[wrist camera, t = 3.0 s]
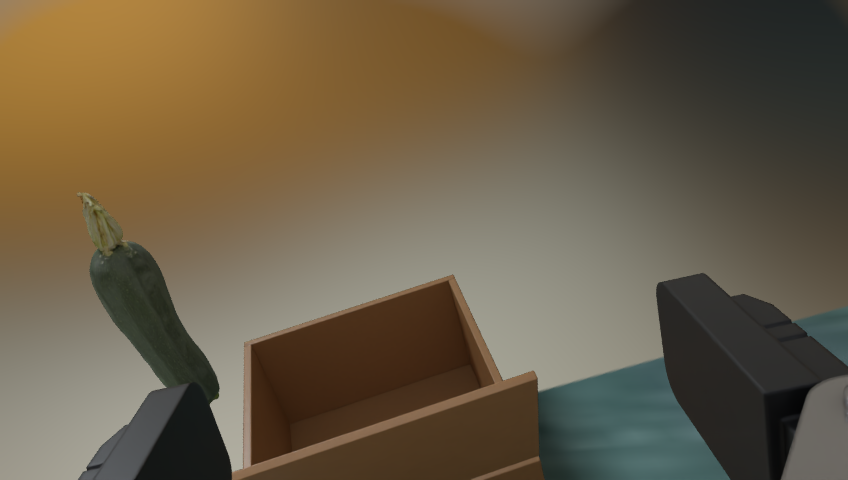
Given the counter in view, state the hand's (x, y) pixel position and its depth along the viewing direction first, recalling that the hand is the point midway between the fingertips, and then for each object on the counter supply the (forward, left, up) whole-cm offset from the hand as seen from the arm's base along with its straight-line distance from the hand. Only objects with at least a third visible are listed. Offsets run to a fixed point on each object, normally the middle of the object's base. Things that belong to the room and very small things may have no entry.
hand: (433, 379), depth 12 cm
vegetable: (+17, -34, -28) cm, 48 cm away
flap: (+3, -12, -15) cm, 19 cm away
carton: (+3, -21, -28) cm, 35 cm away
